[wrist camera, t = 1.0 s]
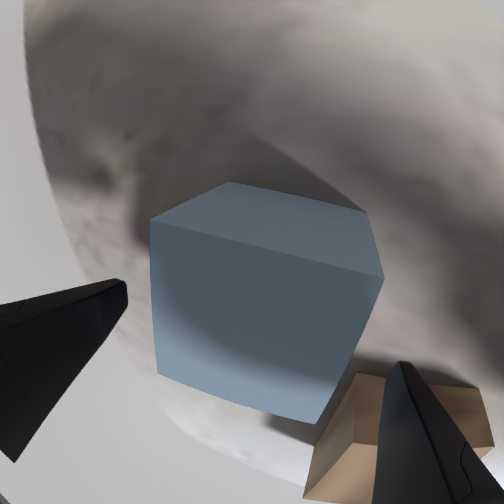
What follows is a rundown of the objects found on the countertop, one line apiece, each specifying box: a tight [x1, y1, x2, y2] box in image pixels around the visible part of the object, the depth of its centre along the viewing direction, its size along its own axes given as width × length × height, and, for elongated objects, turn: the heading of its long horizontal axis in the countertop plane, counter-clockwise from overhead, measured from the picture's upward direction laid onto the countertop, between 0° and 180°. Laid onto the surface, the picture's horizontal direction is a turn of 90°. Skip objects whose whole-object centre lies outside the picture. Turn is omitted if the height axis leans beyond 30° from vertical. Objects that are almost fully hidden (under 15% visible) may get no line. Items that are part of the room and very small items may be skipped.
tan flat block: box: [303, 373, 495, 504], centre depth 14 cm, size 9×9×5 cm
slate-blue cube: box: [150, 181, 384, 424], centre depth 11 cm, size 6×6×6 cm
